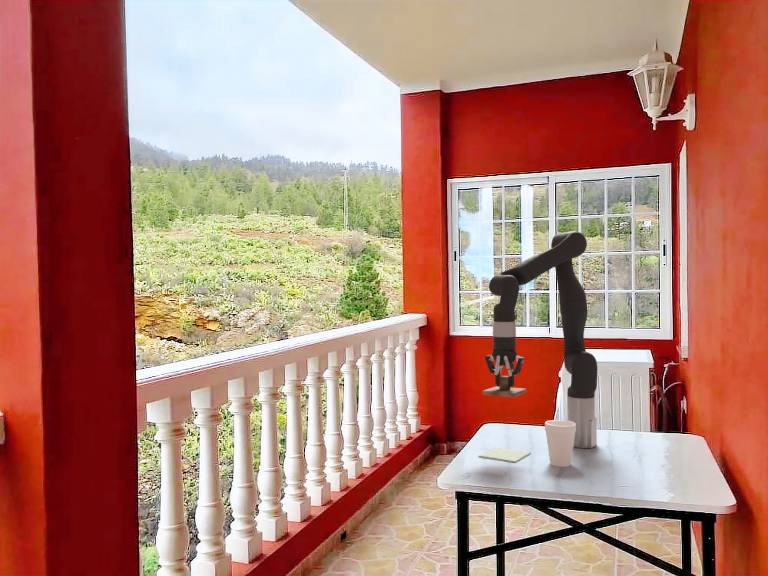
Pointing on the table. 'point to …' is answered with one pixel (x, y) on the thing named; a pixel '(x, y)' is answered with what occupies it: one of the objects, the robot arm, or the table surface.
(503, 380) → the lid
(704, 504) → the table surface
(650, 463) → the table surface
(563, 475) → the table surface
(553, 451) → the foam cup
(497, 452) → the mat
